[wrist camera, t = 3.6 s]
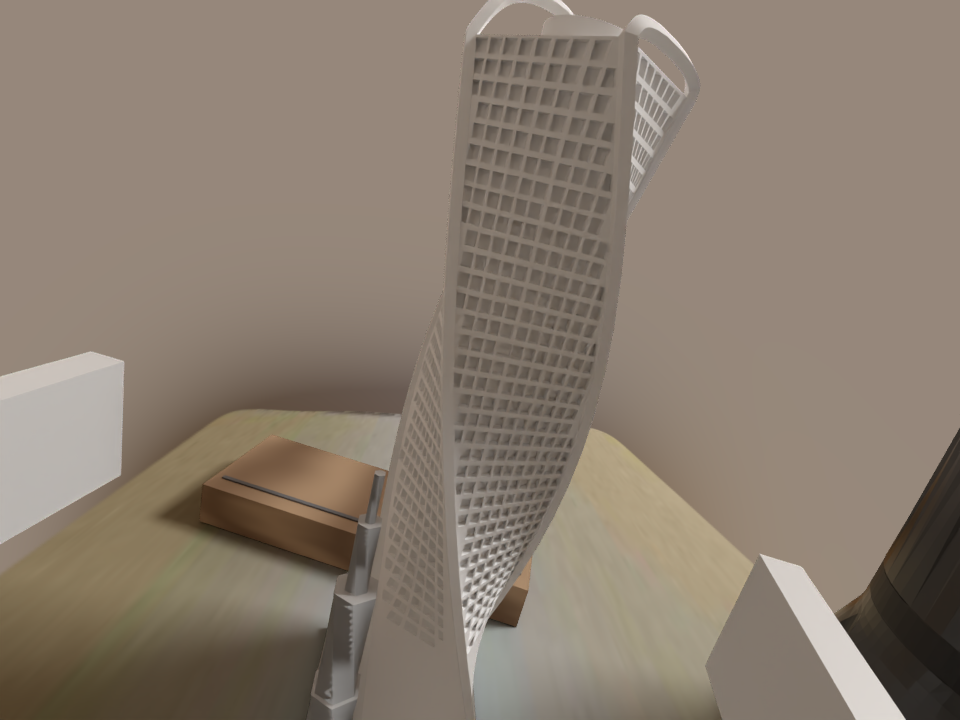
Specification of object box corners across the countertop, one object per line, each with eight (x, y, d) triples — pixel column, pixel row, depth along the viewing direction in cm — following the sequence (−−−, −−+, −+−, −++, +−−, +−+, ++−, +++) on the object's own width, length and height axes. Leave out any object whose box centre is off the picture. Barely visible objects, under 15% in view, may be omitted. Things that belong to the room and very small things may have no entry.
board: (526, 548, 34) (536, 515, 33) (516, 627, 28) (528, 589, 27) (267, 465, 36) (272, 433, 35) (199, 520, 29) (202, 482, 29)
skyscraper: (333, 604, 26) (453, -20, 18) (485, 622, 27) (662, 48, 19) (290, 787, 18) (470, -185, 10) (507, 800, 19) (826, -50, 11)
